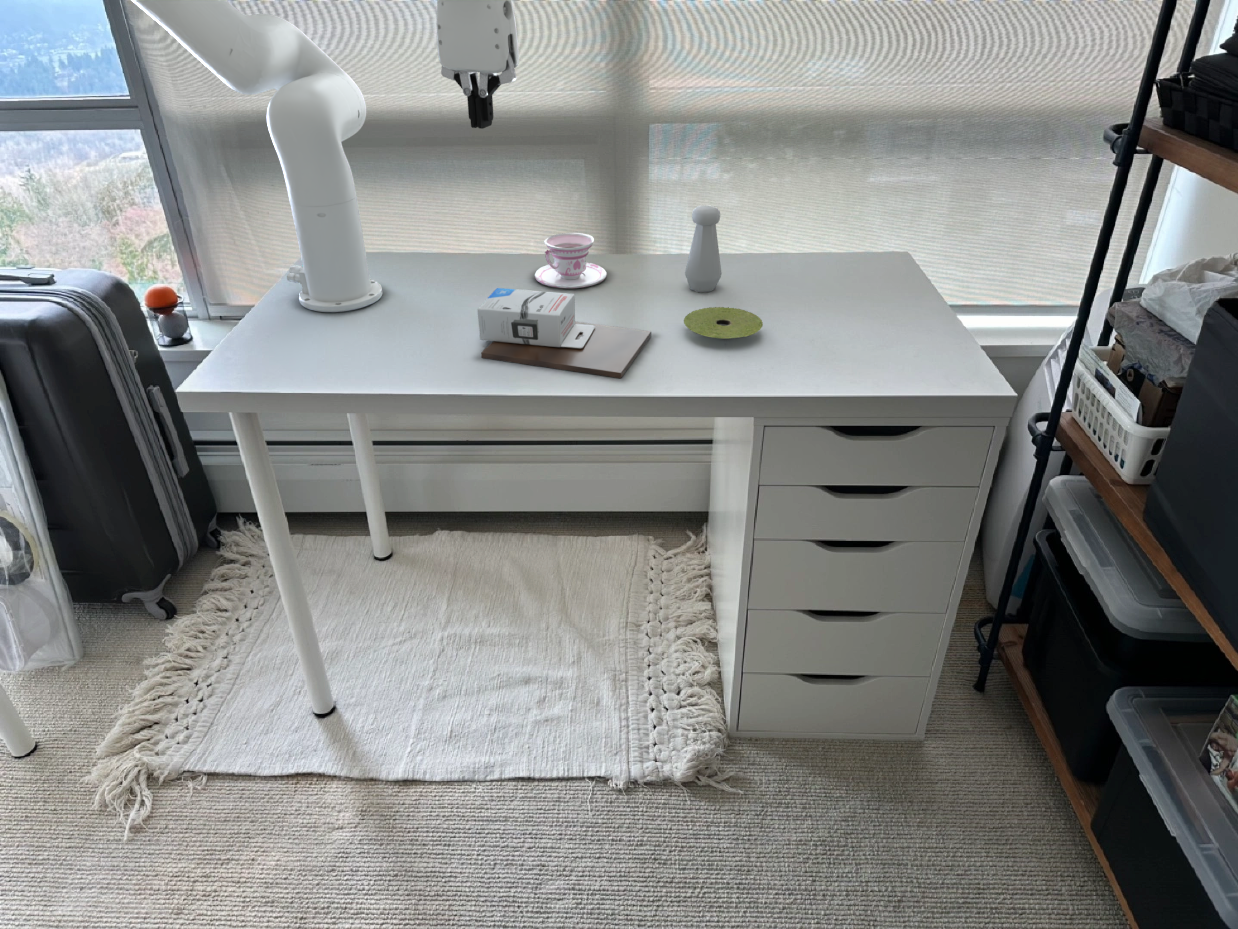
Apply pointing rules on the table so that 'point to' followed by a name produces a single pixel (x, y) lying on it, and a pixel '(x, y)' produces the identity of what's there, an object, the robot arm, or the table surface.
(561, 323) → the ink box
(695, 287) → the salt shaker
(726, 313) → the green grinding disc
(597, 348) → the walnut board
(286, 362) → the table surface
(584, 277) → the teacup
